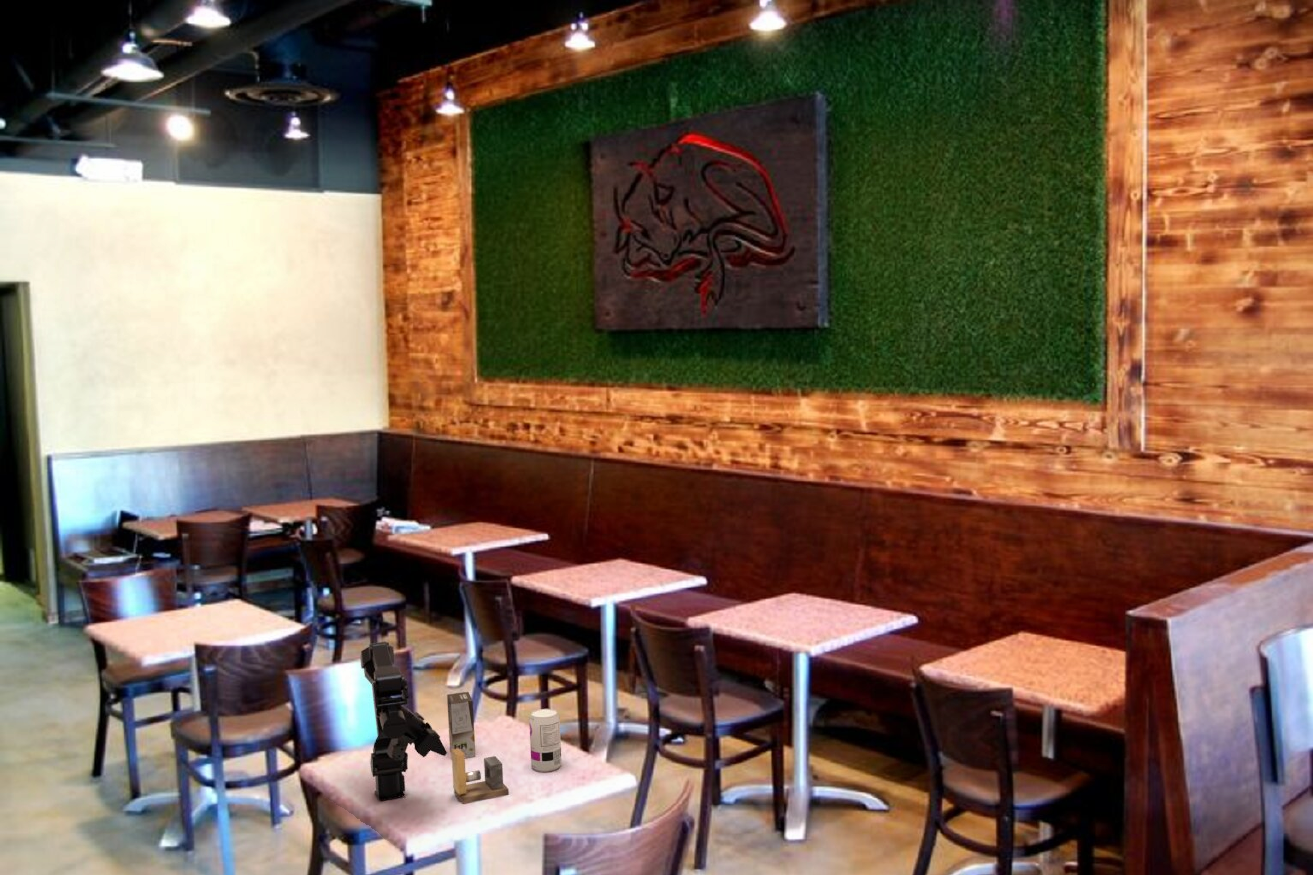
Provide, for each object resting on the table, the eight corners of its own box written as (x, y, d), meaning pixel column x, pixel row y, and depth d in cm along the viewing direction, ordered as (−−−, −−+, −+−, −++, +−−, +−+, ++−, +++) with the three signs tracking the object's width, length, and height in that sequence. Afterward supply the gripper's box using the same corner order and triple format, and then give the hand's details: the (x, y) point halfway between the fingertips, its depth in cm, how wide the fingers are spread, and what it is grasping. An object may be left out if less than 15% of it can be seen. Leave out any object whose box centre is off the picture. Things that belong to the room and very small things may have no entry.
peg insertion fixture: (462, 803, 299) (461, 772, 298) (454, 792, 306) (452, 762, 306) (508, 794, 304) (507, 763, 304) (498, 783, 312) (497, 754, 311)
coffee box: (476, 756, 332) (473, 700, 330) (453, 759, 330) (450, 703, 328) (471, 745, 340) (468, 691, 339) (448, 748, 338) (446, 693, 337)
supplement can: (527, 771, 319) (524, 717, 318) (537, 760, 327) (535, 707, 326) (555, 773, 317) (553, 718, 316) (565, 762, 325) (563, 708, 324)
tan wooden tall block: (458, 794, 300) (456, 755, 299) (453, 787, 305) (451, 749, 304) (483, 789, 303) (481, 751, 302) (477, 783, 307) (475, 745, 306)
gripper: (368, 732, 301) (413, 766, 307) (384, 755, 284) (432, 791, 290) (397, 697, 304) (442, 731, 309) (415, 718, 287) (462, 754, 293)
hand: (444, 752), depth 300 cm, fingers open, 3 cm apart
